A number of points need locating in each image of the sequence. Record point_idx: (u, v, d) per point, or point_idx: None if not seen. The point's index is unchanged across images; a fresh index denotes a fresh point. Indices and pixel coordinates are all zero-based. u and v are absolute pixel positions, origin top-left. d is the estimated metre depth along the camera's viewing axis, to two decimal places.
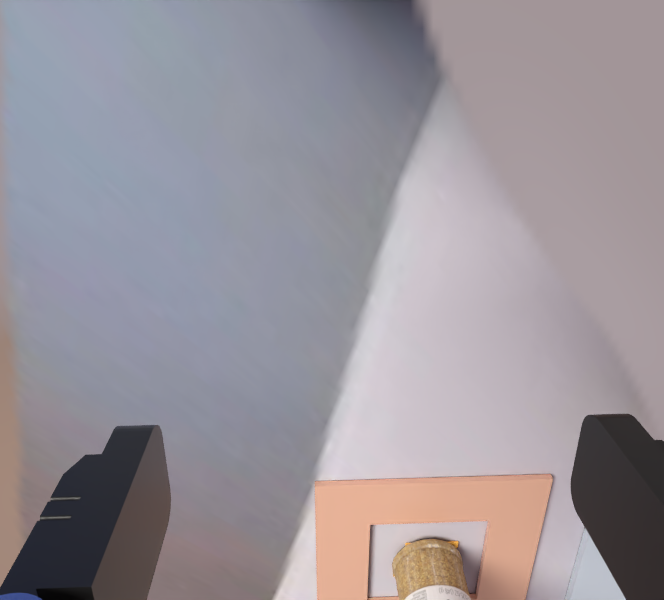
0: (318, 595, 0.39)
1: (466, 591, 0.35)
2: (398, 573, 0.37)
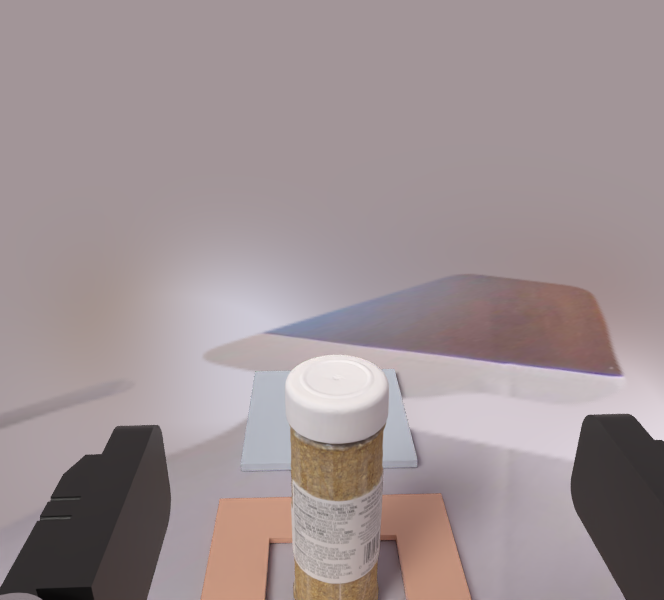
0: None
1: None
2: None
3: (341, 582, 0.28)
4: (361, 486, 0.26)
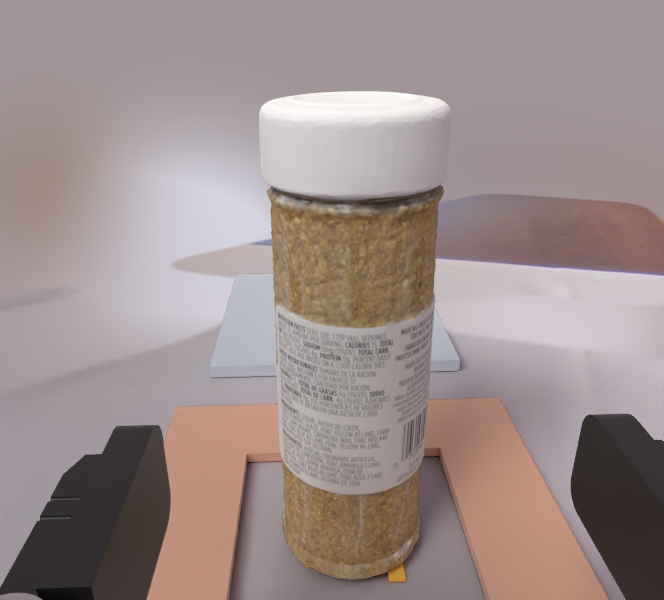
0: None
1: None
2: (334, 545, 0.17)
3: (363, 493, 0.16)
4: (401, 301, 0.14)
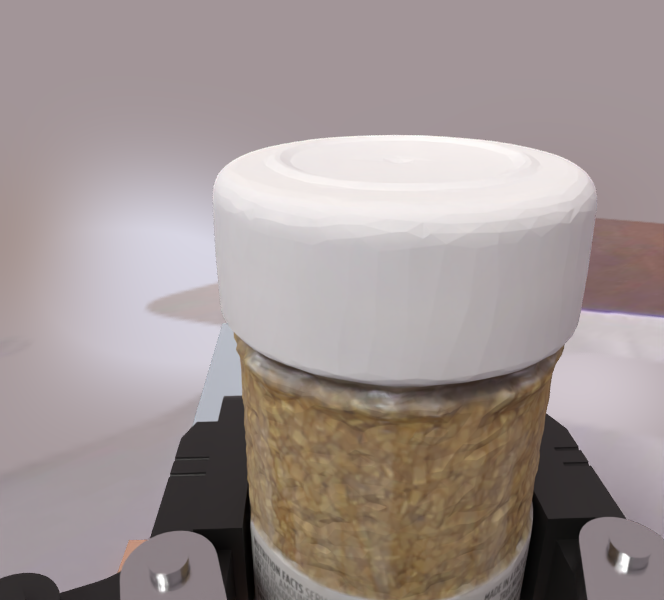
0: None
1: None
2: None
3: None
4: (488, 548, 0.07)
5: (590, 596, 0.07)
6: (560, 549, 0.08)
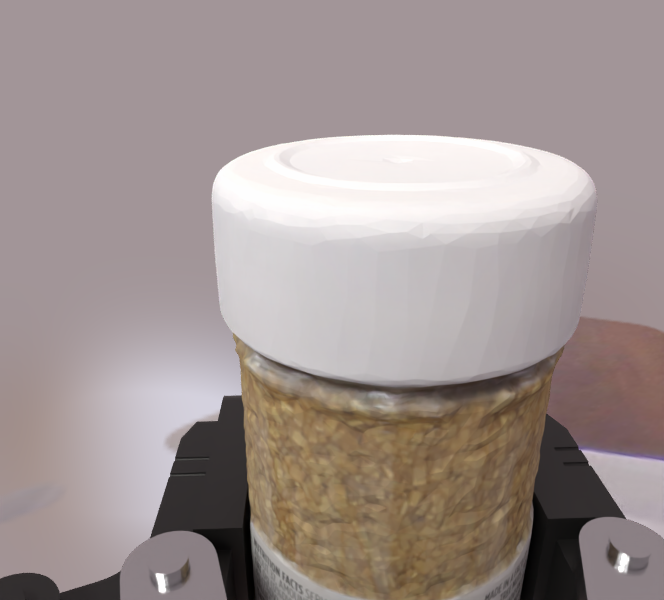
0: None
1: None
2: None
3: None
4: (489, 549, 0.07)
5: (590, 596, 0.07)
6: (560, 549, 0.08)
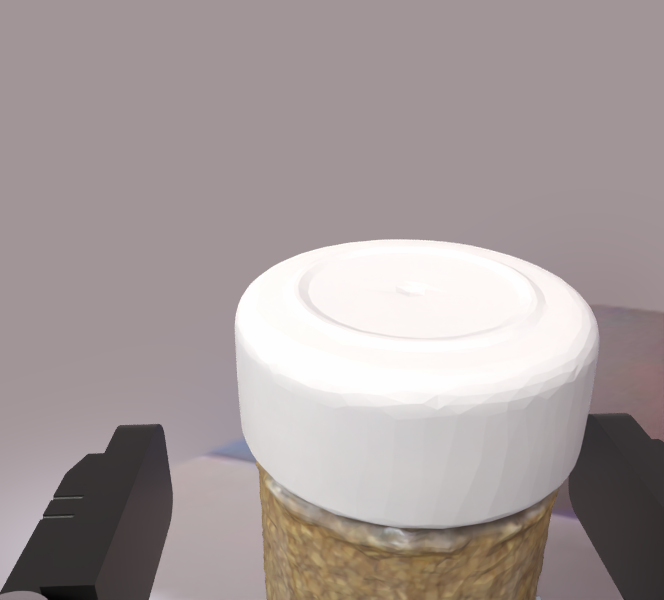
0: None
1: None
2: None
3: None
4: None
5: None
6: None
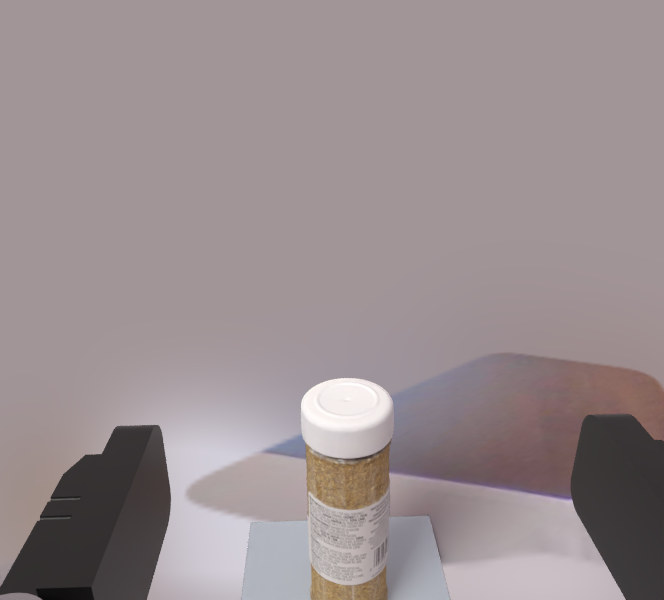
0: None
1: None
2: None
3: (354, 584, 0.31)
4: (370, 496, 0.29)
5: None
6: None
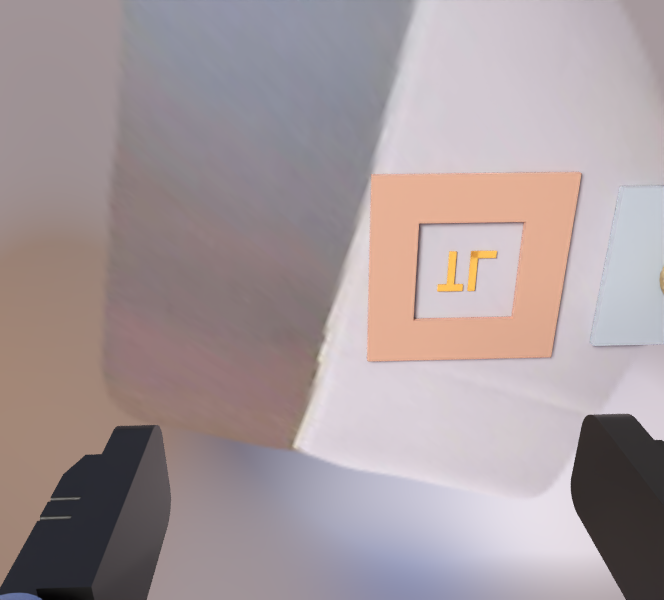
0: (369, 310, 0.43)
1: None
2: None
3: None
4: None
5: None
6: None
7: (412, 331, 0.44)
